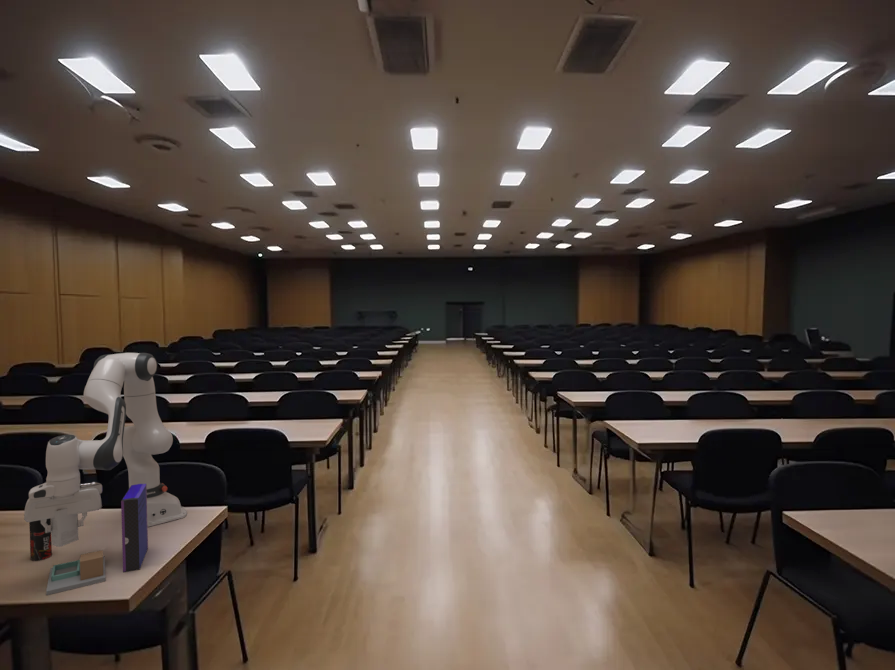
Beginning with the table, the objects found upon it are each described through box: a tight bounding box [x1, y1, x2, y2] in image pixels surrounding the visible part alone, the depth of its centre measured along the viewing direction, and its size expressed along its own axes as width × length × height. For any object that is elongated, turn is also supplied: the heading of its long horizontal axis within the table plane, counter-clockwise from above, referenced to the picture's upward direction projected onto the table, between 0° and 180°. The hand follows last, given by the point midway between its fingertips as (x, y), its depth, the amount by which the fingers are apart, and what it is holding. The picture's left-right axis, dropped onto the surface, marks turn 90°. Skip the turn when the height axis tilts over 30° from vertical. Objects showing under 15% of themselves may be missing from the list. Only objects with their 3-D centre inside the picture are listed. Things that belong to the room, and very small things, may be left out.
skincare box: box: [51, 508, 79, 548], centre depth 169 cm, size 6×4×12 cm
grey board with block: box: [45, 549, 106, 596], centre depth 170 cm, size 15×18×7 cm
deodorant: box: [28, 518, 53, 562], centre depth 183 cm, size 6×6×15 cm
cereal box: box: [120, 484, 149, 573], centre depth 181 cm, size 17×5×24 cm, turn 22°
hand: (64, 528), depth 169 cm, fingers closed on skincare box, 7 cm apart
